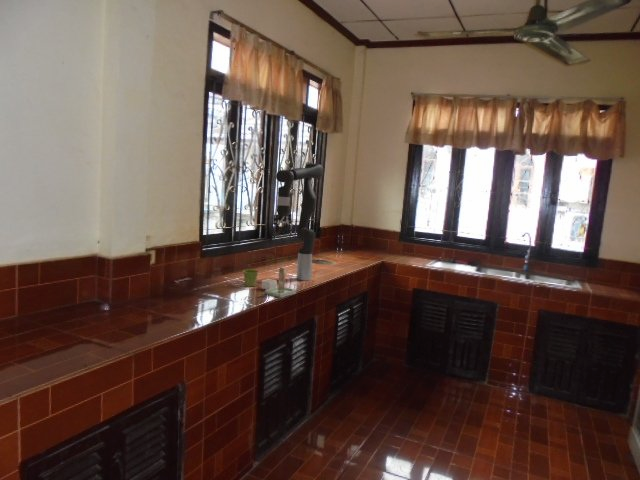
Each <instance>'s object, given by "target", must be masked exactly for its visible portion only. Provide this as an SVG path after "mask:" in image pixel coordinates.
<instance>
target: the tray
mask: <svg viewBox="0 0 640 480" xmlns="http://www.w3.org/2000/svg"><path fill="white" fill-rule="evenodd" d="M297 293H298V290H297V289H295V288H289V287H286V286H284V293H279V292H278V287H277V288H273V289H269V290H264V295H267V296H271V297H272V296H273V297H275V298H279V299H281V298H284V297H288V296H293V295H295V294H297Z"/></svg>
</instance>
